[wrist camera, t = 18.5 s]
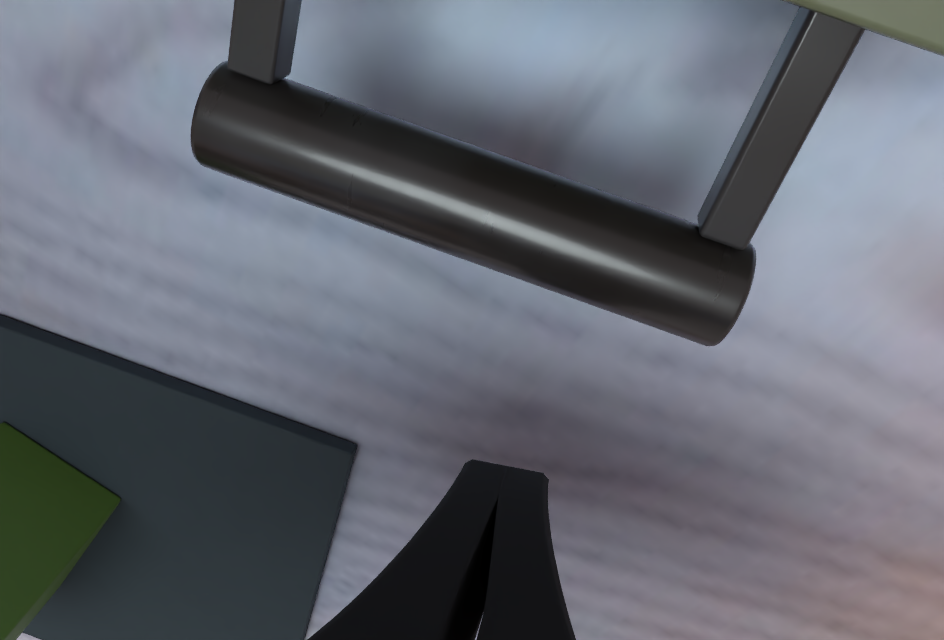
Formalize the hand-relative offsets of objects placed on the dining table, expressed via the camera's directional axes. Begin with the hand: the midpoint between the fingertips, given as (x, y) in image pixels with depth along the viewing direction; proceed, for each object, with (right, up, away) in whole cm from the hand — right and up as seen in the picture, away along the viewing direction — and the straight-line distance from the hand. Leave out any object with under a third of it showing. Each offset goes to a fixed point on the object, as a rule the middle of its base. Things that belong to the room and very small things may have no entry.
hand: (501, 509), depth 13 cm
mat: (-12, -2, +8) cm, 15 cm away
